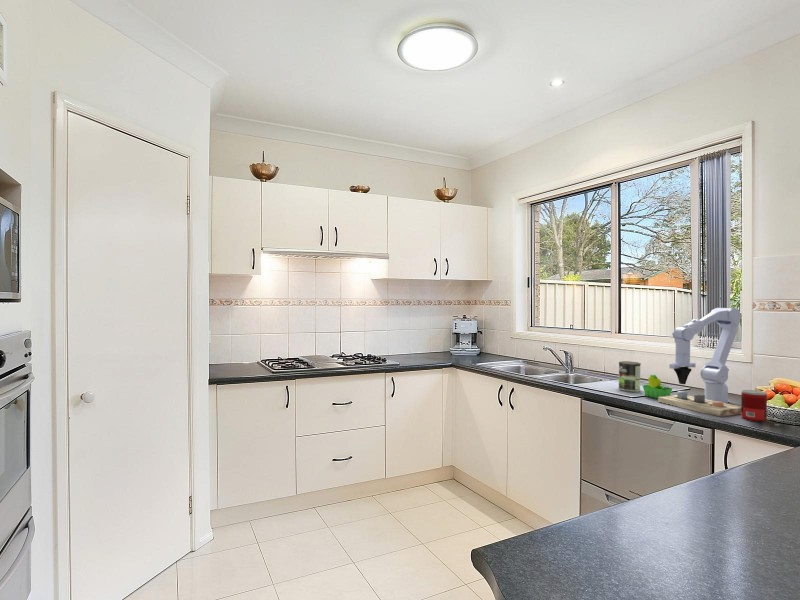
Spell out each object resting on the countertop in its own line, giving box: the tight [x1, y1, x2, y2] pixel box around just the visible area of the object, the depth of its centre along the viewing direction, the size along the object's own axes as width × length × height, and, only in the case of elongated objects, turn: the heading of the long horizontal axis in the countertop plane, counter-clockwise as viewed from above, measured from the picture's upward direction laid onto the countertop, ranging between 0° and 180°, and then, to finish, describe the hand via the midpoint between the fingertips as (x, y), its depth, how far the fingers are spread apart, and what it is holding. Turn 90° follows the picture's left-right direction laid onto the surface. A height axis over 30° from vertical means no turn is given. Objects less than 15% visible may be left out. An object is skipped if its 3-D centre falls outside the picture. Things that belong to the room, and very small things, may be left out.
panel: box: [657, 394, 741, 417], centre depth 207 cm, size 16×28×2 cm, turn 23°
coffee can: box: [618, 360, 642, 392], centre depth 247 cm, size 10×10×14 cm
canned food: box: [740, 389, 768, 423], centre depth 187 cm, size 8×8×11 cm
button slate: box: [676, 390, 689, 400], centre depth 214 cm, size 4×4×4 cm
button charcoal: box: [693, 393, 705, 404], centre depth 207 cm, size 4×4×4 cm
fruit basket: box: [642, 373, 674, 399], centre depth 227 cm, size 11×9×11 cm
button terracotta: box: [712, 401, 724, 408], centre depth 200 cm, size 4×4×4 cm
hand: (682, 383), depth 214 cm, fingers closed
